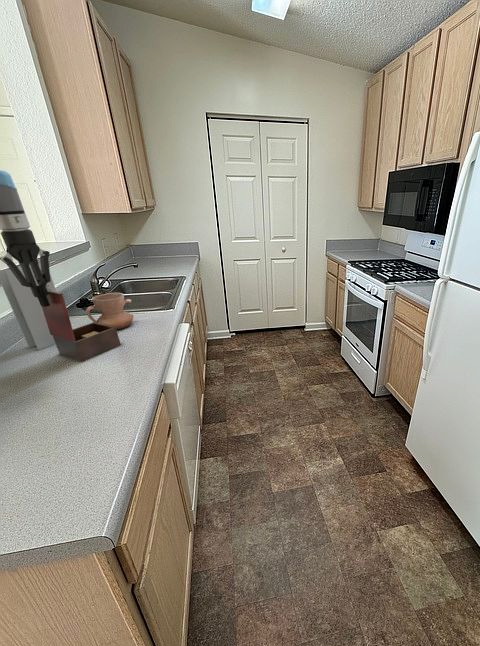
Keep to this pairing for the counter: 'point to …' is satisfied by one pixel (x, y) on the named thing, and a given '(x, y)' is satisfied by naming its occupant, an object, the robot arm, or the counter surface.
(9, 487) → the counter surface
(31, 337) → the white lettered carton
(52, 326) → the cover
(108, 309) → the ceramic jug
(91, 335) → the block
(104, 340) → the book box
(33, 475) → the counter surface
